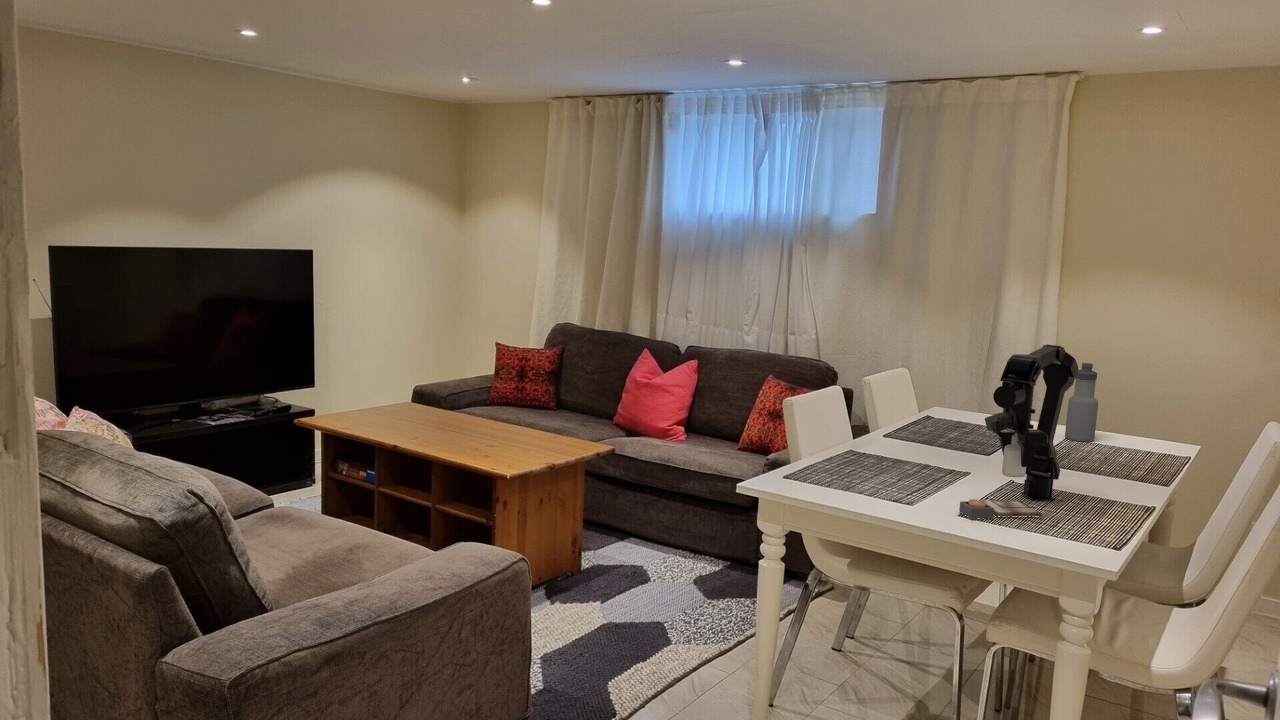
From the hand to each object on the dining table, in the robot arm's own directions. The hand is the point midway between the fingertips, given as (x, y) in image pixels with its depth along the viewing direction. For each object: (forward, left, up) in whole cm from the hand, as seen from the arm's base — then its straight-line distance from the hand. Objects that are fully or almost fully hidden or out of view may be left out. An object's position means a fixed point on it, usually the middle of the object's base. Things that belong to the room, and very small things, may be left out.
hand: (1014, 462), depth 239 cm
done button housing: (+13, +6, -13) cm, 19 cm away
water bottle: (-75, -85, -13) cm, 114 cm away
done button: (+13, +6, -11) cm, 17 cm away
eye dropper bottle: (0, 0, -4) cm, 4 cm away
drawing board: (+2, +2, -13) cm, 13 cm away
